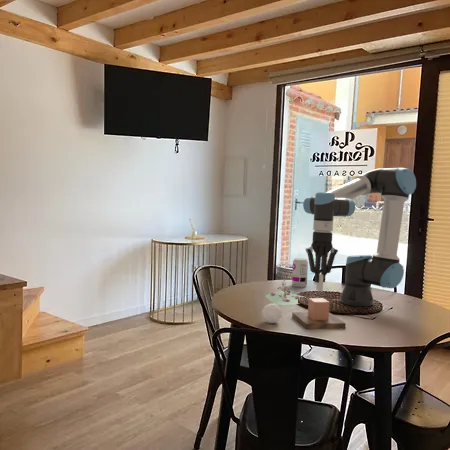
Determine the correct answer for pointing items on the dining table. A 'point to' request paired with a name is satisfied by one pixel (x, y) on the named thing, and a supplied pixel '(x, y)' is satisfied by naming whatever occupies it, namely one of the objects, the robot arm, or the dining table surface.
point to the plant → (283, 297)
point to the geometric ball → (271, 313)
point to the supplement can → (300, 272)
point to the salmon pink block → (318, 309)
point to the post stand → (318, 321)
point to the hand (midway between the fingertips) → (319, 290)
